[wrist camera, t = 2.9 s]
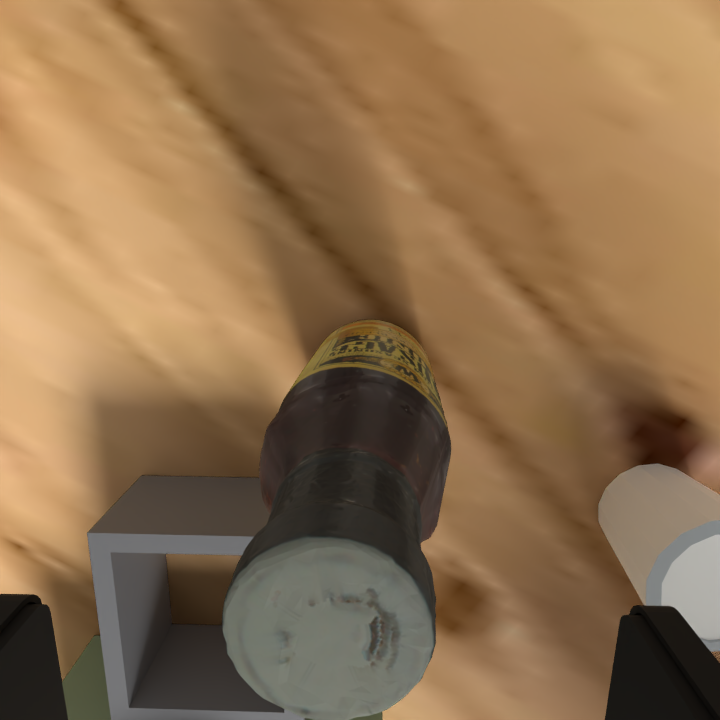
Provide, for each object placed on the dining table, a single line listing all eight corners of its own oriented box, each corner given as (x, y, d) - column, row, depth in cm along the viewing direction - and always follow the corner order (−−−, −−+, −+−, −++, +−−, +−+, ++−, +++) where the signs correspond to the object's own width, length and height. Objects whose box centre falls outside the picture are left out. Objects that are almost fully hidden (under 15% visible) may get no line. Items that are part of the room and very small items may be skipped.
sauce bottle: (451, 354, 29) (605, 612, 9) (387, 445, 30) (407, 834, 11) (347, 288, 28) (285, 420, 9) (286, 384, 29) (116, 683, 10)
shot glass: (630, 583, 32) (699, 679, 25) (562, 501, 31) (615, 579, 24) (733, 517, 30) (835, 599, 24) (666, 429, 29) (753, 489, 23)
